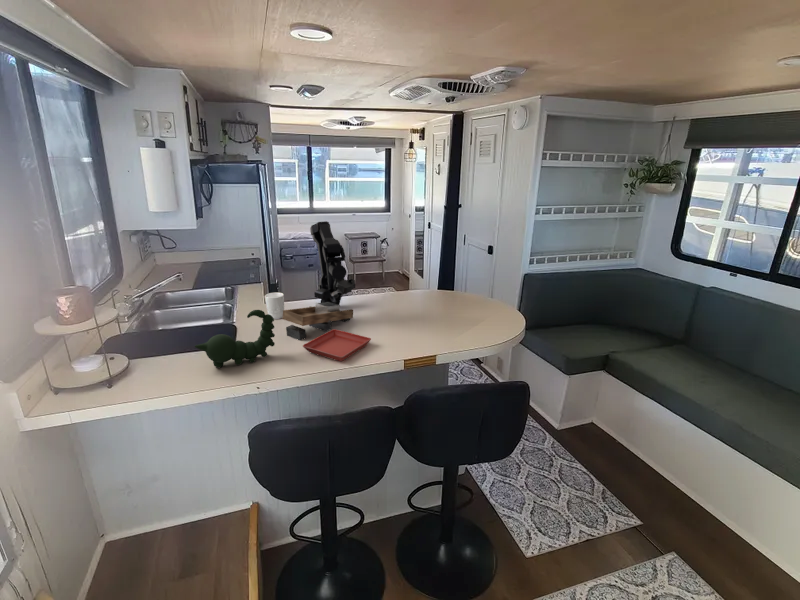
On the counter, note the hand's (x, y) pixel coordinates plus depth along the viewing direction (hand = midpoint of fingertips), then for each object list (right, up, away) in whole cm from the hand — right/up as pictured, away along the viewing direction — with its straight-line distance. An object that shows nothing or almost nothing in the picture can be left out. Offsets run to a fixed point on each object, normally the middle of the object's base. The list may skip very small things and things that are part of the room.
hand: (337, 308), depth 179 cm
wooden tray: (-6, -4, -7) cm, 10 cm away
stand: (-6, -8, -6) cm, 11 cm away
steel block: (-3, -2, -4) cm, 6 cm away
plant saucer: (+4, -15, -25) cm, 30 cm away
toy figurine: (-28, -18, -35) cm, 48 cm away
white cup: (-28, -4, +7) cm, 29 cm away
